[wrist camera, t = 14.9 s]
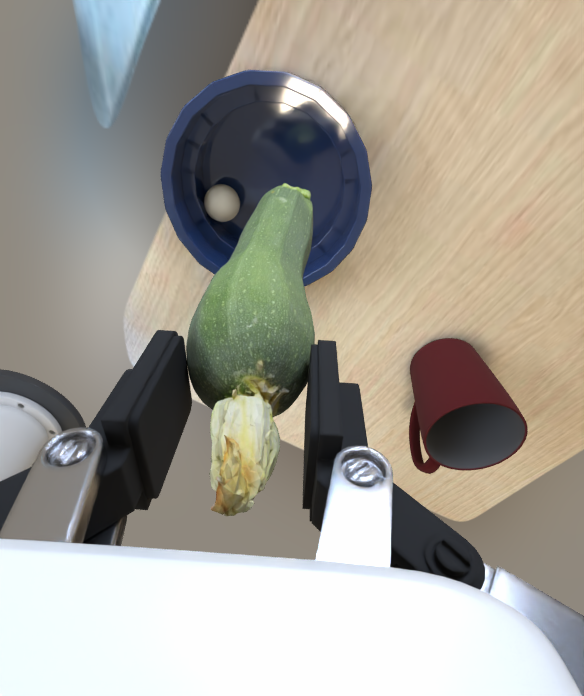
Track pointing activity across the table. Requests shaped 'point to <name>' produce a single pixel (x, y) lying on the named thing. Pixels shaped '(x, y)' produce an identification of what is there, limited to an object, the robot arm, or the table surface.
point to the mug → (460, 410)
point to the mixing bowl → (266, 164)
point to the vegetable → (254, 344)
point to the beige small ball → (222, 202)
